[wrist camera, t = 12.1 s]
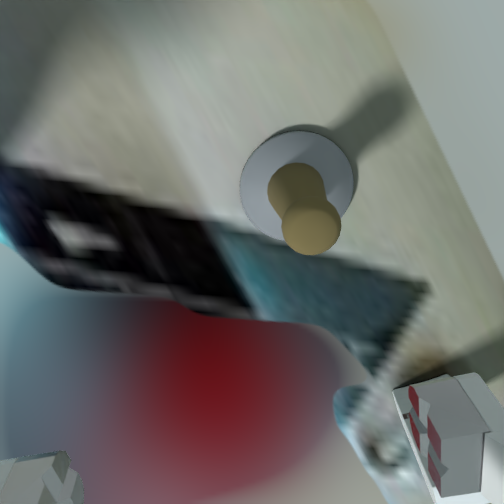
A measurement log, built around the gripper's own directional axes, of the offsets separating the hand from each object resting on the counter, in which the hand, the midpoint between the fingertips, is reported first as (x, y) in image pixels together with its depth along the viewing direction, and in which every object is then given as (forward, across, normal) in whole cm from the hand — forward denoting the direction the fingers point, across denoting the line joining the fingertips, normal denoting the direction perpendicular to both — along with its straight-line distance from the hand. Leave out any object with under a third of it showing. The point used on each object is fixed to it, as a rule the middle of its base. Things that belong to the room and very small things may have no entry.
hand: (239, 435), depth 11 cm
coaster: (+39, +6, -9) cm, 41 cm away
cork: (+38, +6, -9) cm, 40 cm away
